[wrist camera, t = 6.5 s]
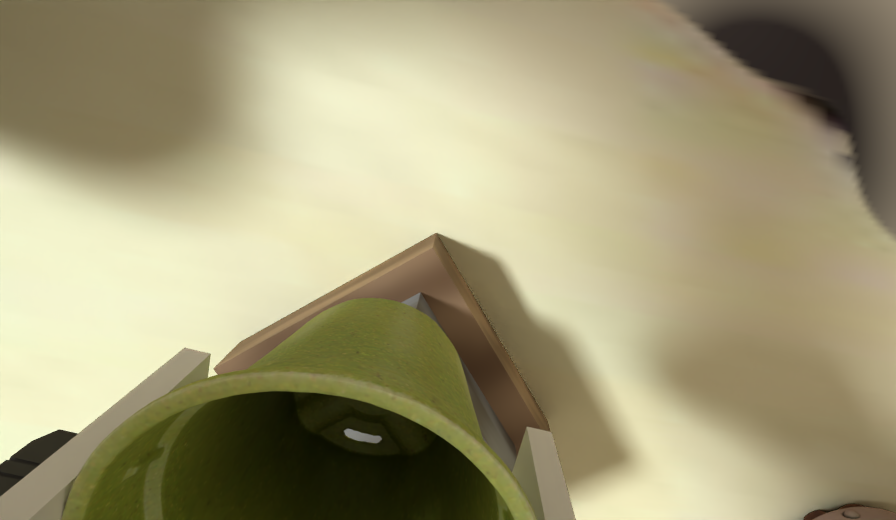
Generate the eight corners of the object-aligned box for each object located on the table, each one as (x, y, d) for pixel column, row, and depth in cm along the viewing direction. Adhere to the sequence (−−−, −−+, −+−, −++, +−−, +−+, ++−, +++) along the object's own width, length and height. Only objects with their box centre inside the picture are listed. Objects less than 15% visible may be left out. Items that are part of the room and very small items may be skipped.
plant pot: (542, 279, 17) (615, 435, 9) (480, 511, 19) (490, 809, 11) (261, 221, 17) (55, 323, 8) (235, 464, 19) (57, 730, 11)
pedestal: (240, 342, 36) (169, 412, 27) (436, 232, 34) (426, 272, 25) (361, 509, 40) (332, 618, 31) (547, 421, 37) (572, 514, 28)
